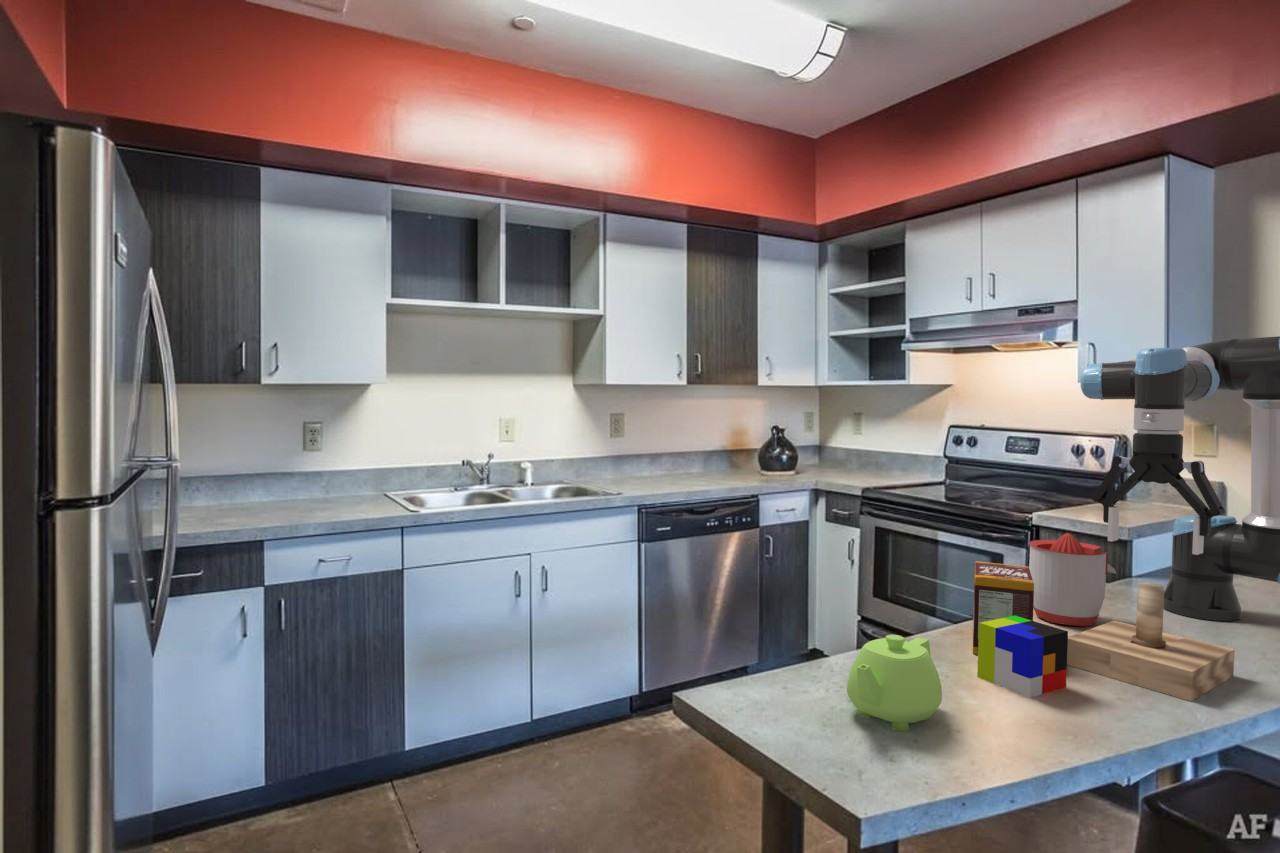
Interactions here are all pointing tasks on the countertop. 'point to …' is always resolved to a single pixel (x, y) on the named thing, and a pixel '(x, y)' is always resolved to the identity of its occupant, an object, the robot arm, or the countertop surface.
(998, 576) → the supplement box
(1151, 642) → the leg peg
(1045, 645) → the puzzle toy
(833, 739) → the countertop surface
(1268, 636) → the countertop surface
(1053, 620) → the citrus juicer
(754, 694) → the countertop surface
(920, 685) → the teapot
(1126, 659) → the seat board
